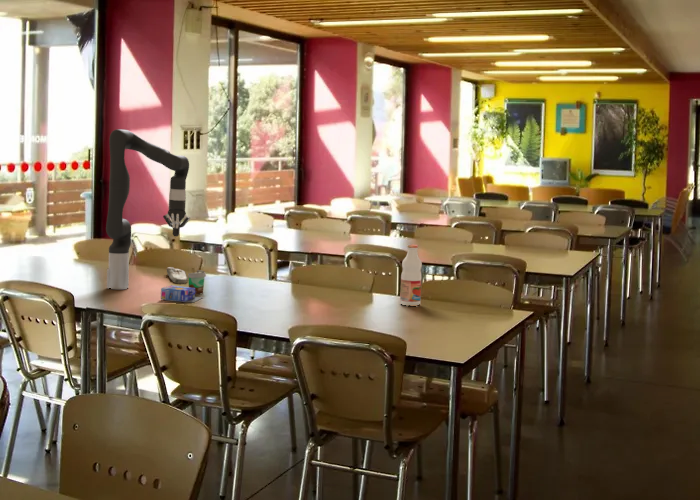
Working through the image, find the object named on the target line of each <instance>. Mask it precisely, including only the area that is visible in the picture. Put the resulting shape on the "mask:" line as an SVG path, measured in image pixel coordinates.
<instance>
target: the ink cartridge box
mask: <svg viewBox="0 0 700 500" xmlns="http://www.w3.org/2000/svg"><path fill="white" fill-rule="evenodd" d="M196 292H197V291H196ZM195 297H196V294H195V288H192V287H189V286H180V285H179V286H178V285H167V286H164V287H161V288H160V300H162V301H163V300H164V301H166V300H172V301H171V302H177V301H182V302H181V303H186V302H185V301H188V300H192V299H195Z"/></svg>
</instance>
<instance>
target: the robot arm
mask: <svg viewBox="0 0 700 500" xmlns="http://www.w3.org/2000/svg"><path fill="white" fill-rule="evenodd" d="M108 143H109V156H110V160H109V161H110V162H109V184H108V185H109V186H108V190H109V193H108V208H107V209H108V211H107V217H106V224H105V226H106V227H105V231H106V234H107V236H108V237H109V238H110V239H112V242H111V245H109V247H108V268H107V269H106V289H109V288H111V289H110V290H127V288H128V289H129V286H130V285H129V273H130V272H129V271H130V270H129V266H130V265H129V263H130V262H129V259H130V258H129V257H130V256H129V252H130V248H131V243H132V242H131V241H132V225H131V223H130V222H129V220H128V219H125V218H123V215H124V214H123V212H124V207H125V204H126V202H127V199H128V197H129V193H130V187H131V185H130V181H131V180H130V179H131V178H130V177H131V176H130V174H129V170H128V167H127V165H126V162H125V161H126V160H125V151H126V150H132V151H134V152H138V153H139V154H140V153H141V154H142V155H143V156H145V157H146V158H148V159H149V160H151V161H153V162H156V163H158V164H161V165H163V166H164V167H165V168H167V169H169V170H171V171H174V174H173V176H172V177H170V182H169V193H168V211H167V213H166V214H165V215H163V216H162V218H163V220H164V221H165V222H166V224H167V226H169V227H170V228H172V235H173V237H178V236H180V228H183V227H185V226H186V224H187V223H188V222H189V221H190V220H191V217H190V216H188V215H187V212H186V201H187V197H186V196H187V194H186V193H187V192H186V191H187V190H186V186H187V185H186V183H187V182H186V180H187V177H188V174H189V170H190V161H189V159H188V157H187V156H185V155H177V154H173V153H171V152H170V150H167V149H166V148H163V147H161V146H159V145H156V144H154V143H151V142H148V140H145V139H143V138H141V137H140V136H138V135H136V134H135V133H134V132H132V131H131V130H128V129H121V128H119V129H117V128H116V129H114V130H112V131H111V133H110V134H109V142H108ZM182 220H183V221H182Z"/></svg>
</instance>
